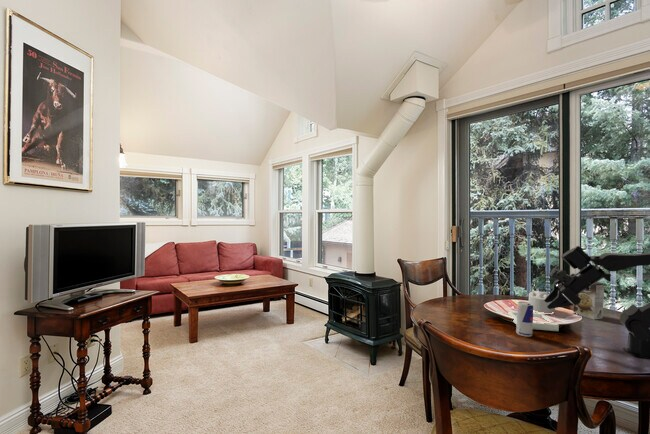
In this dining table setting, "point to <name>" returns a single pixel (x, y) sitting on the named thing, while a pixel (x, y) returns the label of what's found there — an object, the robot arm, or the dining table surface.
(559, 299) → the robot arm
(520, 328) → the energy drink
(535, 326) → the tray
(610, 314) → the dining table surface
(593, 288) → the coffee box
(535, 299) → the lumpy-topped squat cylinder
